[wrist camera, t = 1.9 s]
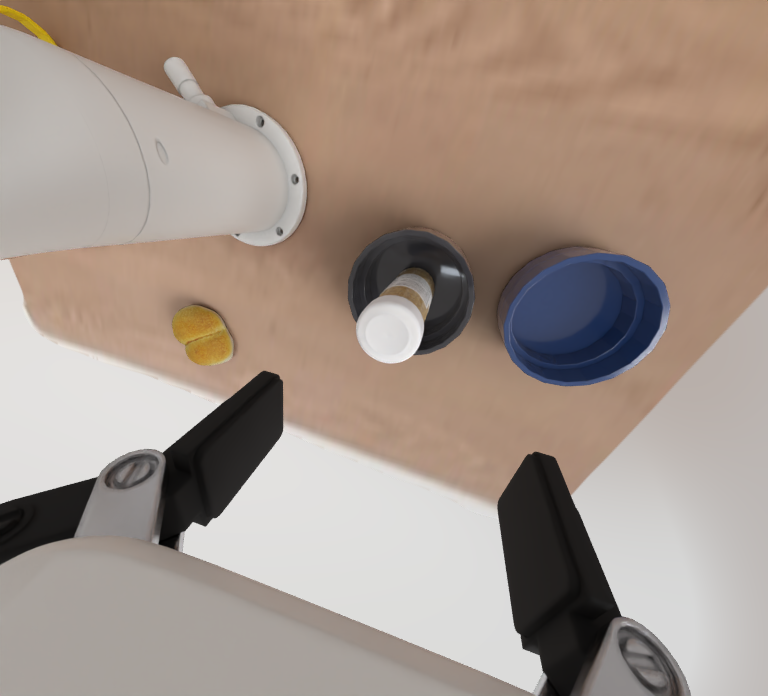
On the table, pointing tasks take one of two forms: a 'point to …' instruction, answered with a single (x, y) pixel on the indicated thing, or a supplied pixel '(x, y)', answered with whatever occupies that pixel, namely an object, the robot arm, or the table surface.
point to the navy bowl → (582, 315)
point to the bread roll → (203, 335)
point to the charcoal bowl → (425, 253)
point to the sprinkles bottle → (396, 317)
